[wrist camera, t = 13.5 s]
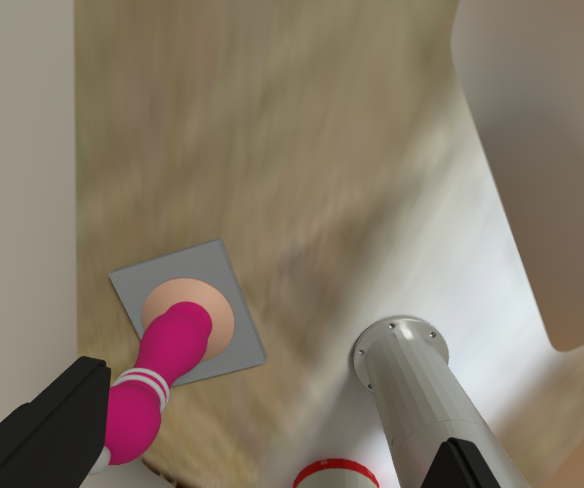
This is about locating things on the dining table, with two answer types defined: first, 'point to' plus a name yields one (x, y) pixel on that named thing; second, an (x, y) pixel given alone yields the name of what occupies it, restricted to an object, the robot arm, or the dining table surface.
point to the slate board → (199, 289)
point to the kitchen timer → (335, 475)
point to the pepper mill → (152, 381)
